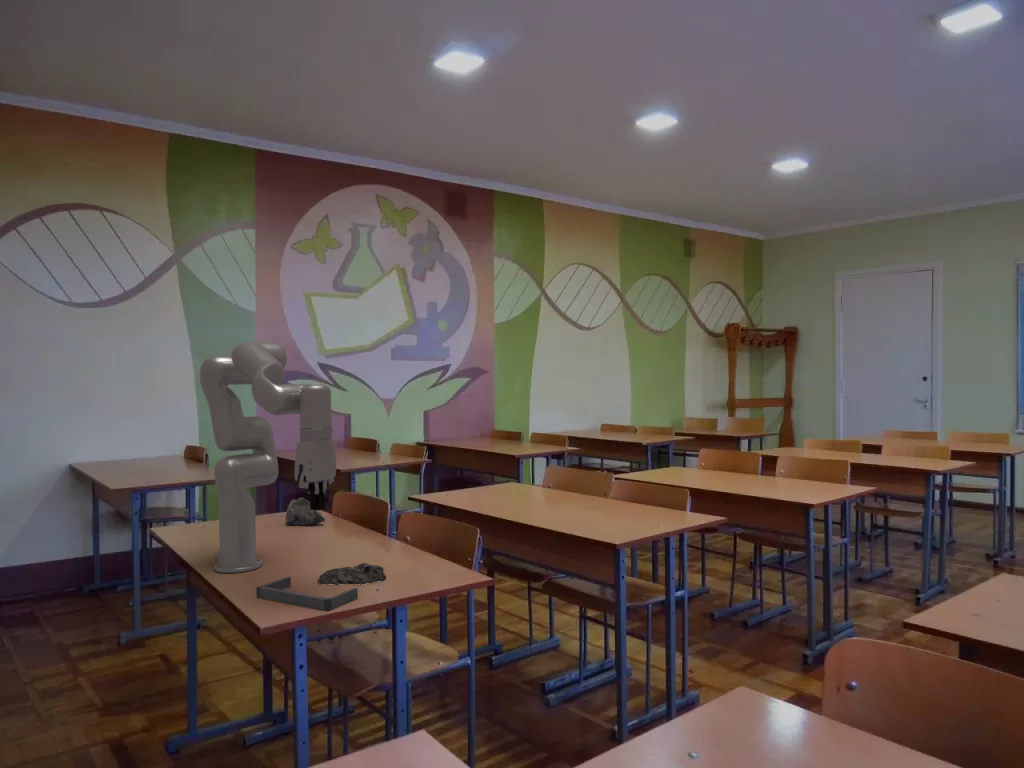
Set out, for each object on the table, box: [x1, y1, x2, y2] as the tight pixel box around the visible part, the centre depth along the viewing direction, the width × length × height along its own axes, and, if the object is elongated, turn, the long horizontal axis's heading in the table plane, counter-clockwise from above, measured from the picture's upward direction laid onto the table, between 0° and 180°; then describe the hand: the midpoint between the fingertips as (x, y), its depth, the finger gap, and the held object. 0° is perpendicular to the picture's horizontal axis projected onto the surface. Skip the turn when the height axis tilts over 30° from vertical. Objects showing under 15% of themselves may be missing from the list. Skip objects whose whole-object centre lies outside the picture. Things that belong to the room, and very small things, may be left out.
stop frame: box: [255, 576, 359, 612], centre depth 175 cm, size 23×10×2 cm, turn 61°
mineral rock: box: [285, 497, 326, 526], centre depth 260 cm, size 13×11×10 cm
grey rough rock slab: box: [317, 562, 387, 586], centre depth 191 cm, size 19×4×15 cm
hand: (317, 509), depth 178 cm, fingers closed
